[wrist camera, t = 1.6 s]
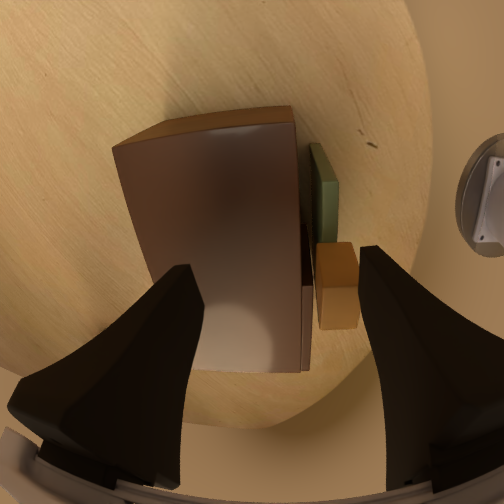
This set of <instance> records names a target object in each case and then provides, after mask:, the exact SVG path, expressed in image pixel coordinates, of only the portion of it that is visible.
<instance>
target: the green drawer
mask: <svg viewBox="0 0 504 504" xmlns="http://www.w3.org/2000/svg"><path fill="white" fill-rule="evenodd" d="M309 151H310V175H311V214H312V260H313V270H314V279H315V290H316V300H317V312H318V322H319V328H320V330H340V329H355V328H357V325H358V320H359V315H360V310H361V308H360V302H359V297H358V281H359V265H358V261H357V258H356V255H355V252H354V249H353V246H352V243H351V242H337V234H338V205H339V182H338V179H337V177H336V175H335V173H334V171H333V169H332V167H331V164H330V162H329V160H328V158H327V156H326V154H325V152H324V150H323V148H322V146H321V144H320V143H316V144H309Z"/></svg>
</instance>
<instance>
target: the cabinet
mask: <svg viewBox="0 0 504 504" xmlns="http://www.w3.org/2000/svg"><path fill="white" fill-rule="evenodd" d="M112 152H113V156H114V160H115V164H116V168H117V171H118V175H119V179H120V183H121V186H122V190H123V193H124V197H125V200H126V203H127V207H128V210H129V213H130V216H131V220H132V223H133V226H134V229H135V232H136V235H137V238H138V241H139V244H140V247H141V250H142V253H143V256H144V258H145V261H146V264H147V267H148V270H149V272H150V275H151V278H152V280H153V283H154V284H155V283H156V282H157V281H158V280H159V279H160V278H161V277H162V276H163V275H164V274H165V273H166V272H167V271H168V270H169V269H171V268H172V267H173V266H174V265H181V264H190V265H191V268H192V271H193V274H194V277H195V279H196V282H197V285H198V288H199V291H200V293H201V296H202V299H203V301H204V304H205V310H204V318H203V325H202V331H201V335H200V339H199V342H198V346H197V350H196V353H195V357H194V361H193V364H192V368H191V369H193V370H206V371H223V372H247V373H300V372H301V371H309V370H310V356H311V338H312V317H313V288H314V285H313V275H312V265H311V255H310V246H309V237H308V228H307V223H301V222H300V196H299V175H298V157H297V142H296V127H295V120H294V116H293V112H292V108H291V106H290V105H289V106H273V107H259V108H248V109H239V110H230V111H222V112H214V113H207V114H200V115H194V116H188V117H182V118H177V119H171V120H166V121H163V122H160V123H158V124H156V125H154V126H152V127H150V128H148V129H146V130H144V131H142V132H140V133H138V134H136V135H134V136H132V137H130V138H128V139H126V140H124V141H122V142H121V143H119V144H117V145H115V146H113V147H112Z"/></svg>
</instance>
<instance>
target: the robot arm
mask: <svg viewBox="0 0 504 504" xmlns="http://www.w3.org/2000/svg"><path fill="white" fill-rule="evenodd" d="M497 161H498V163H497V165H496V162H497ZM481 236H482V237H481ZM480 237H481V238H480ZM472 239H473V241H474V242H476V243H480V242H499V243H500V244H501V245H502V246H503V247H504V158H503V157H497V156H490V157H489V159H488V163H487V170H486V176H485V182H484V188H483V193H482V198H481V203H480V207H479V212H478V216H477V220H476V224H475V228H474V232H473V236H472ZM358 297H359V302H360V308H361V313H362V318H363V321H364V325H365V328H366V331H367V335H368V338H369V341H370V345H371V348H372V351H373V355H374V358H375V362H376V366H377V369H378V374H379V378H380V384H381V391H382V399H383V408H384V418H385V431H386V458H387V459H386V492H383V493H378V494H372V495H367V496H362V497H354V498H347V499H339V500H329V501H318V502H300V503H254V502H253V503H252V502H238V501H226V500H216V499H208V498H201V497H194V496H188V495H182V494H177V493H171V492H167V491H162V490H157V489H153V488H149V487H145V486H143V485H146V486H151V487H154V486H155V487H160V488H164V489H169V490H174V489H176V488H177V487H179V485H180V444H181V443H180V442H181V429H182V418H183V409H184V402H185V394H186V388H187V384H188V379H189V375H190V372H191V368H192V364H193V361H194V357H195V353H196V350H197V346H198V342H199V339H200V335H201V331H202V325H203V318H204V310H205V304H204V301H203V299H202V296H201V293H200V291H199V288H198V285H197V282H196V279H195V277H194V274H193V271H192V268H191V265H190V264H181V265H174V266H173V267H172V268H171V269H169V270H168V271H167V272H166V273H165V274H164V275H163V276H162V277H161V278H160V279H159V280H158V281H157V282H156V283H155V284H154V285H153V286H152V287H151V288H150V289H149V290H148V291H147V292H146V293H145V294H144V295H143V296H142V297H141V298H140V299H139V300H138V301H137V302H136V303H134V304H133V305H132V306H131V307H130V308H129V309H128V310H127V311H126V312H125V313H124V314H123V315H121V316H120V317H119V318H118V319H117V320H116V321H115V322H114V323H112V324H111V325H110V326H109V327H108V328H106V329H105V330H104V331H102V332H101V333H100V334H99V335H97V336H96V337H95V338H93V339H92V340H90V341H89V342H88V343H86V344H85V345H83V346H82V347H80V348H79V349H77V350H76V351H74V352H73V353H71V354H70V355H68V356H66V357H65V358H63V359H61V360H59V361H58V362H56V363H54V364H52V365H50V366H48V367H46V368H44V369H42V370H40V371H38V372H36V373H33V374H31V375H29V376H27V377H24V378H22V379H21V380H20V381H19V383H18V384H17V387H16V388H15V390H14V392H13V394H12V396H11V398H10V400H9V402H8V405H7V408H8V411H9V412H10V413H11V414H12V415H13V416H14V417H15V418H16V419H17V420H18V421H20V422H21V423H22V424H23V425H24V426H26V427H27V428H28V429H30V430H31V431H32V432H34V433H35V434H36V435H38V436H39V437H40V438H42V439H43V443H42V445H41V448H40V447H38V446H37V445H36V444H35V443H33V442H32V441H31V440H29V439H28V438H26V437H25V436H23V435H21V434H20V433H18V432H16V431H14V430H12V429H11V428H9V427H5V430H4V432H3V434H2V437H1V439H0V486H1V487H2V488H3V489H5V490H6V491H7V492H8V493H9V494H10V495H11V496H12V497H13V498H14V499H15V500H16V501H17V502H19V503H20V504H134V503H135V504H504V339H502V338H500V337H498V336H496V335H494V334H492V333H490V332H488V331H486V330H484V329H483V328H481V327H479V326H478V325H476V324H475V323H473V322H471V321H470V320H468V319H466V318H465V317H463V316H462V315H460V314H459V313H457V312H456V311H454V310H453V309H452V308H450V307H449V306H447V305H446V304H445V303H443V302H442V301H440V300H439V299H438V298H437V297H435V296H434V295H433V294H431V293H430V292H429V291H428V290H427V289H425V288H424V287H423V286H422V285H421V284H420V283H418V282H417V281H416V280H415V279H413V277H411V276H410V275H409V274H408V273H407V272H406V271H405V270H404V269H403V268H401V267H400V266H399V265H398V264H397V263H396V262H395V261H394V260H393V259H392V258H391V257H390V256H388V255H387V254H386V253H385V252H384V251H383V250H382V249H381V248H380V247H379V246H377V245H375V246H365V247H360V263H359V281H358Z"/></svg>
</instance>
